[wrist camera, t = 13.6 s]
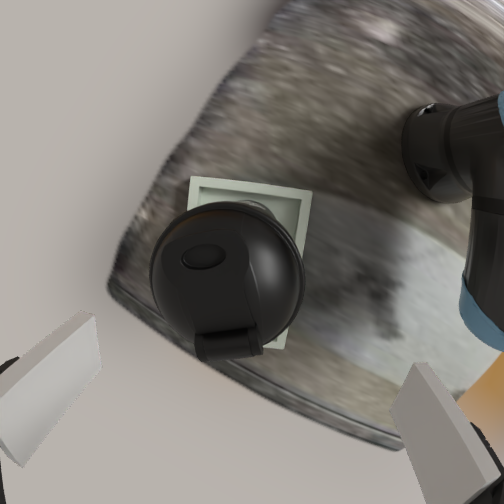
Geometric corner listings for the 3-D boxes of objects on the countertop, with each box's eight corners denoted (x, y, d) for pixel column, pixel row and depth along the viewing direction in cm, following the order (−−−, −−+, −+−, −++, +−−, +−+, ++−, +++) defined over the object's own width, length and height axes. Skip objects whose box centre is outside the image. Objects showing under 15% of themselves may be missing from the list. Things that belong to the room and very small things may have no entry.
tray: (196, 176, 36) (190, 175, 33) (309, 190, 36) (312, 191, 33) (185, 324, 42) (180, 333, 39) (282, 338, 41) (283, 349, 38)
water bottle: (277, 185, 35) (295, 187, 13) (291, 262, 37) (322, 368, 15) (200, 202, 36) (105, 231, 14) (217, 276, 38) (161, 386, 16)
